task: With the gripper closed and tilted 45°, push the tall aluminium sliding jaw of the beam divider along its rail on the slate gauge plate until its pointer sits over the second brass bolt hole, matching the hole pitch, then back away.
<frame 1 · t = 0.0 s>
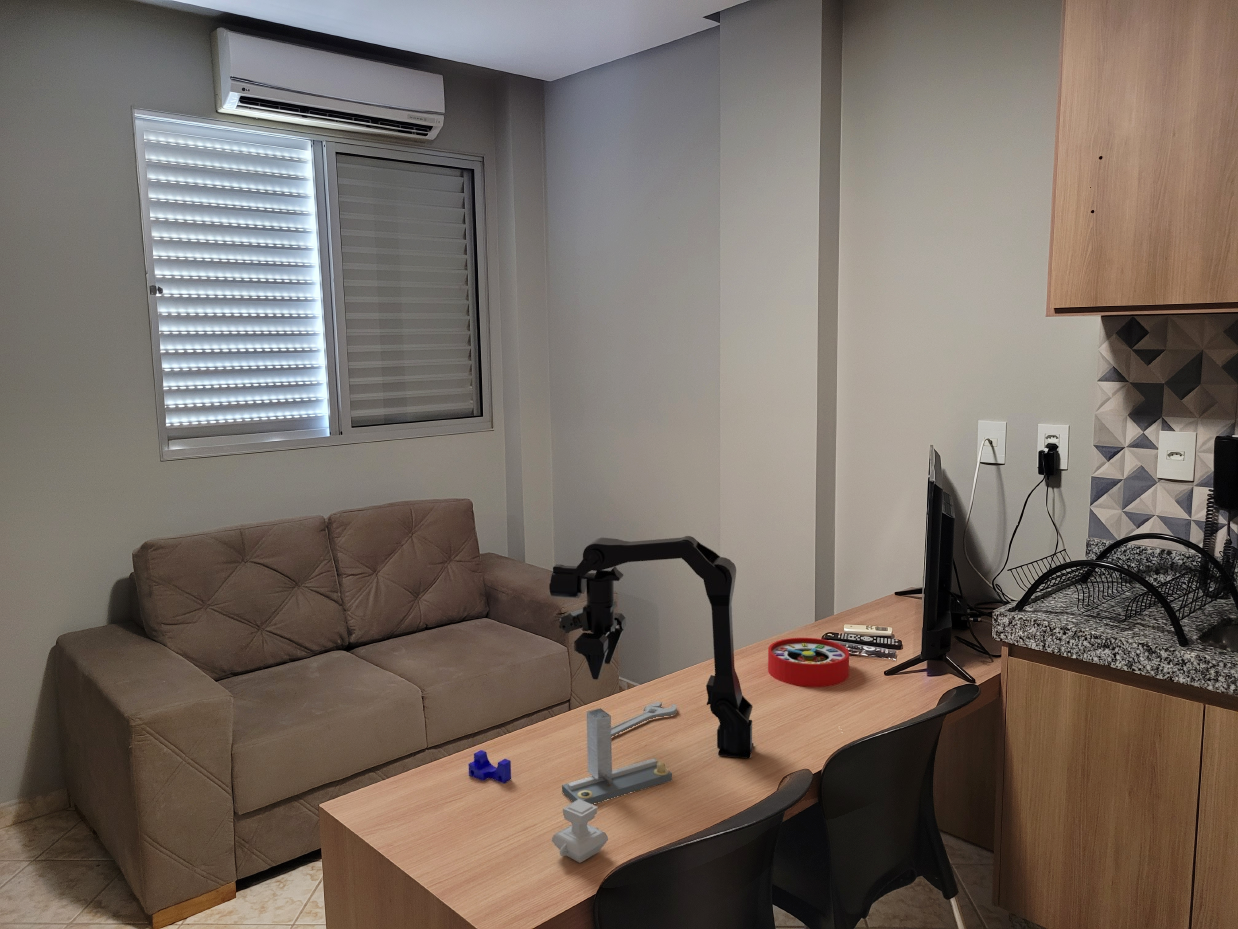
hand: (601, 671, 188), 15 cm above the table, tool pointing down, fingers open, 9 cm apart
gauge plate: (617, 786, 169), on the table
cable holder: (489, 779, 174), on the table
toy clock: (808, 673, 226), on the table
sliding jaw: (602, 748, 167), point 8 cm above the table, slide at 0.0 cm
adjustable wrench: (631, 726, 197), on the table
stamp: (580, 855, 147), on the table
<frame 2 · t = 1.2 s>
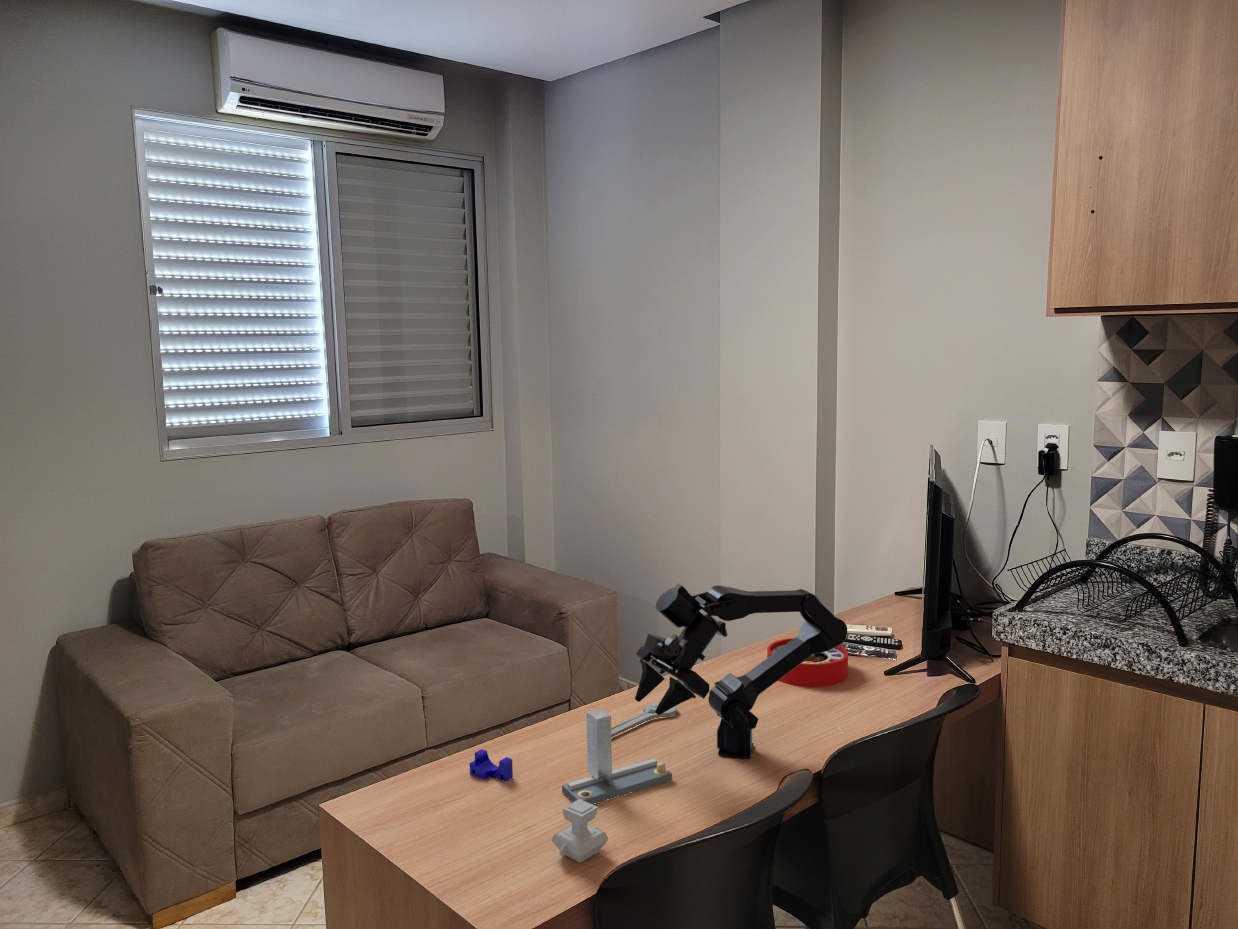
hand: (646, 707, 172), 13 cm above the table, tool tilted 45°, fingers open, 7 cm apart
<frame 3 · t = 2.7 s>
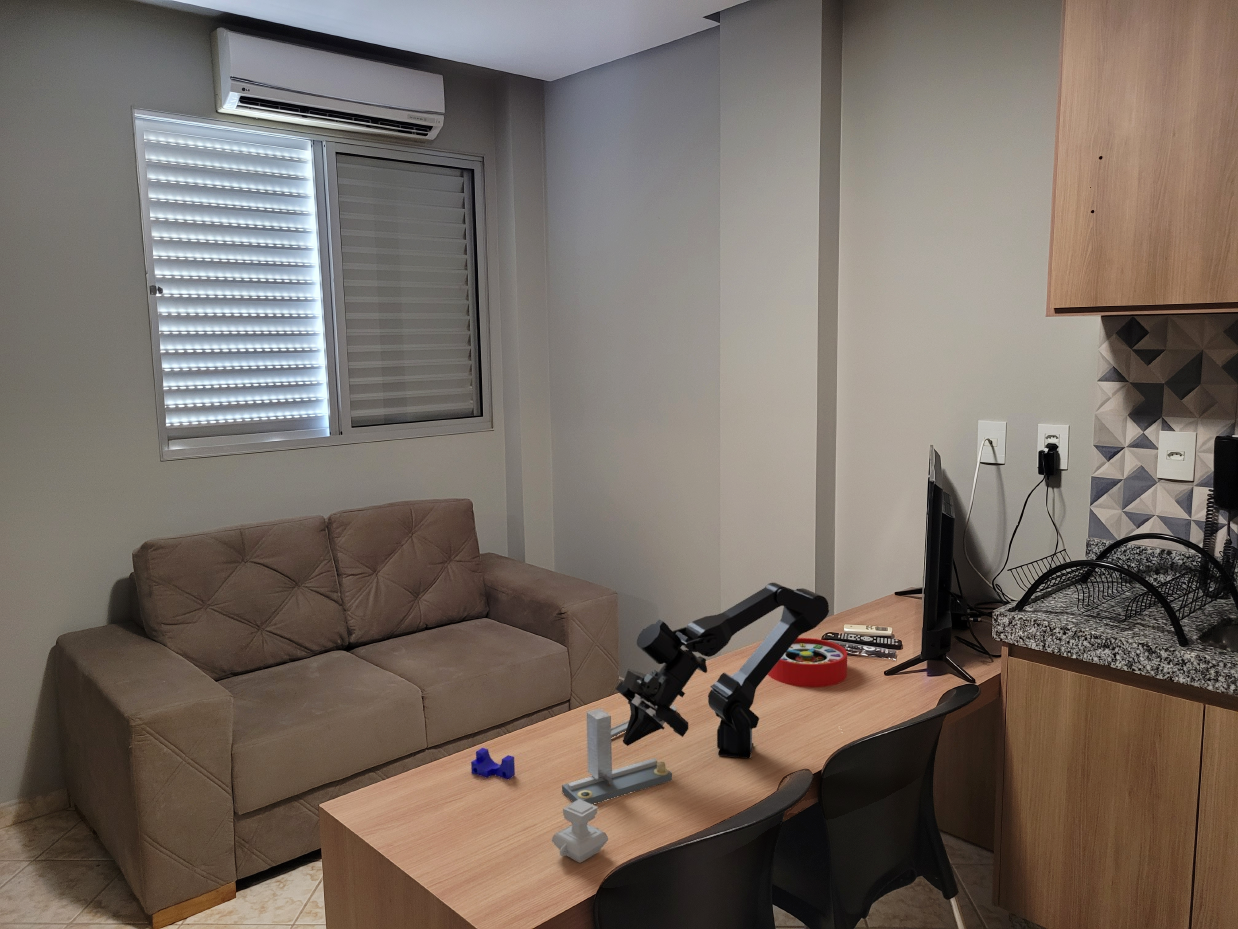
hand: (624, 744, 171), 7 cm above the table, tool tilted 45°, fingers closed
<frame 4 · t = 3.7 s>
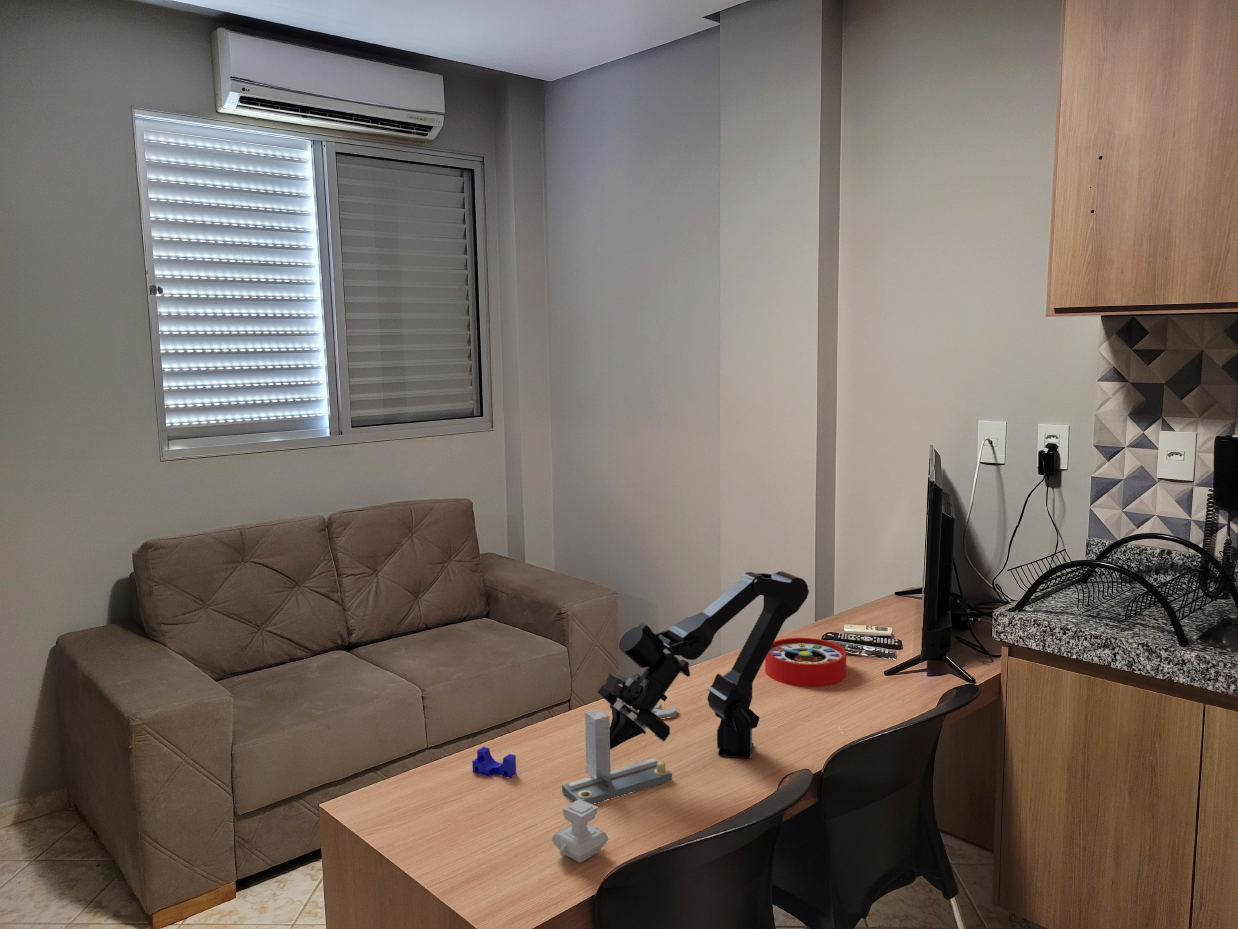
hand: (606, 748, 169), 7 cm above the table, tool tilted 45°, fingers closed, pressing on sliding jaw
sliding jaw: (600, 748, 167), point 8 cm above the table, slide at 0.3 cm, touching gripper
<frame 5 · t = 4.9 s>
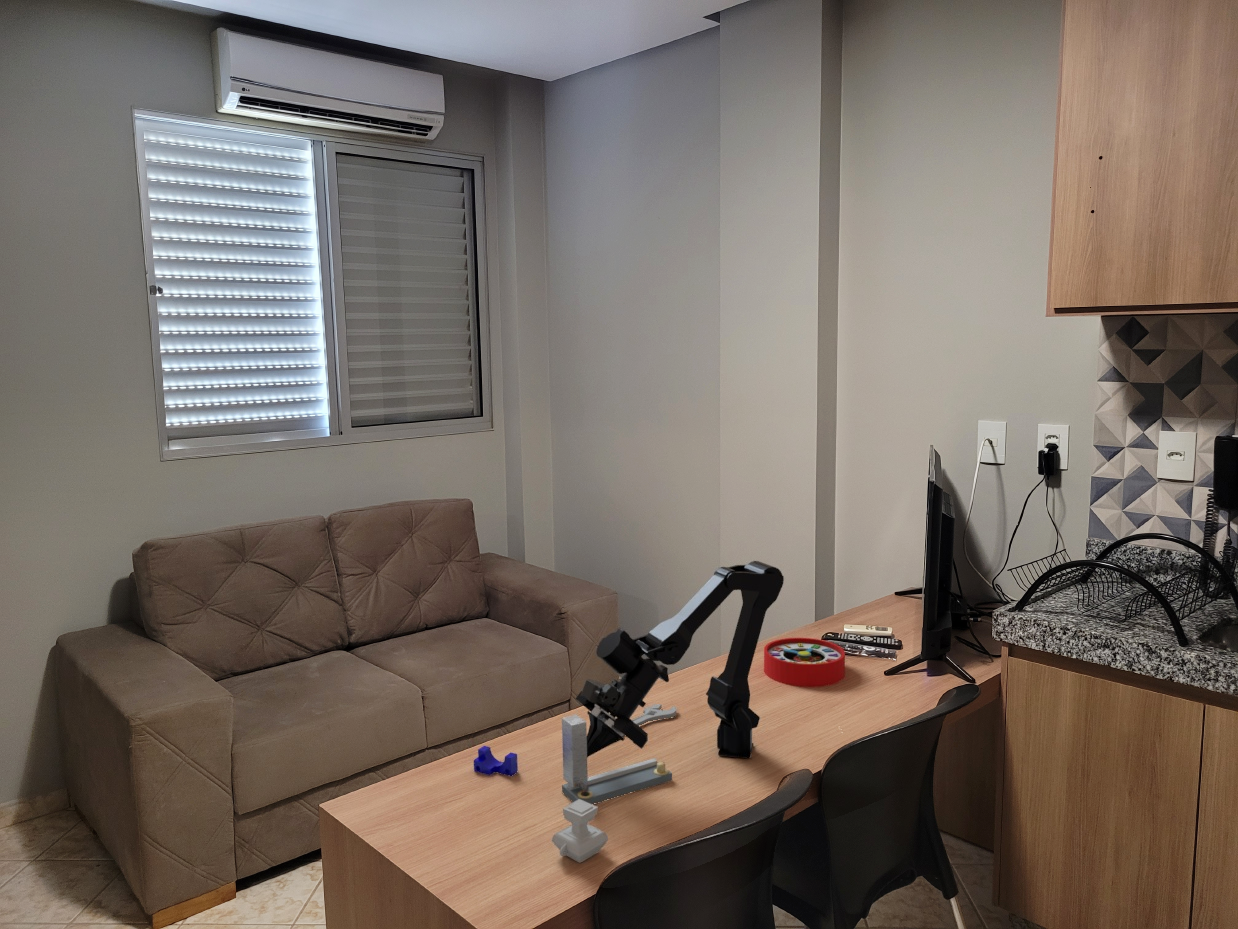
hand: (583, 755, 166), 7 cm above the table, tool tilted 45°, fingers closed, pressing on sliding jaw
sliding jaw: (577, 754, 164), point 8 cm above the table, slide at 5.2 cm, touching gripper
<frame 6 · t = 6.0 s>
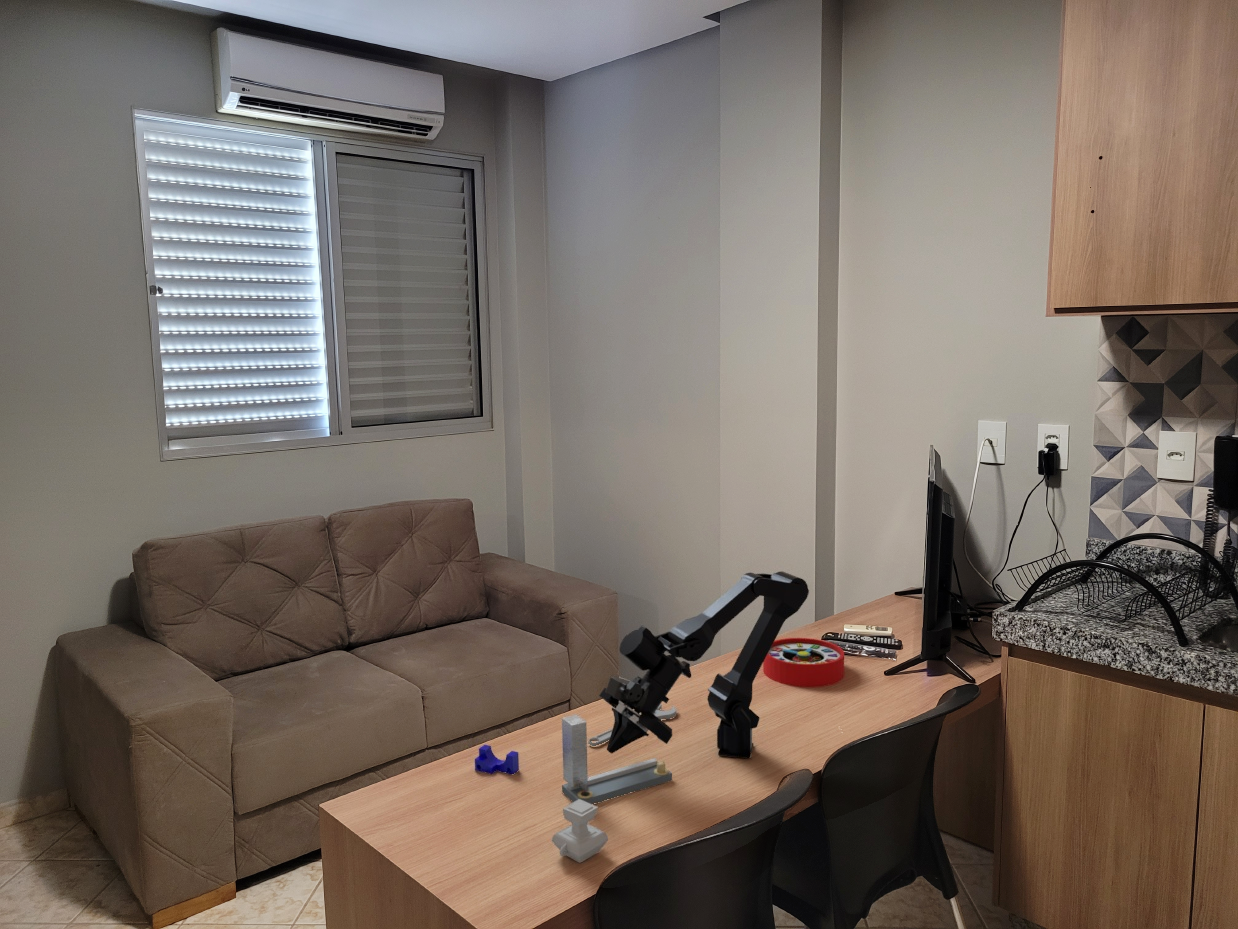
hand: (608, 751, 169), 7 cm above the table, tool tilted 45°, fingers closed
sliding jaw: (577, 754, 164), point 8 cm above the table, slide at 5.2 cm
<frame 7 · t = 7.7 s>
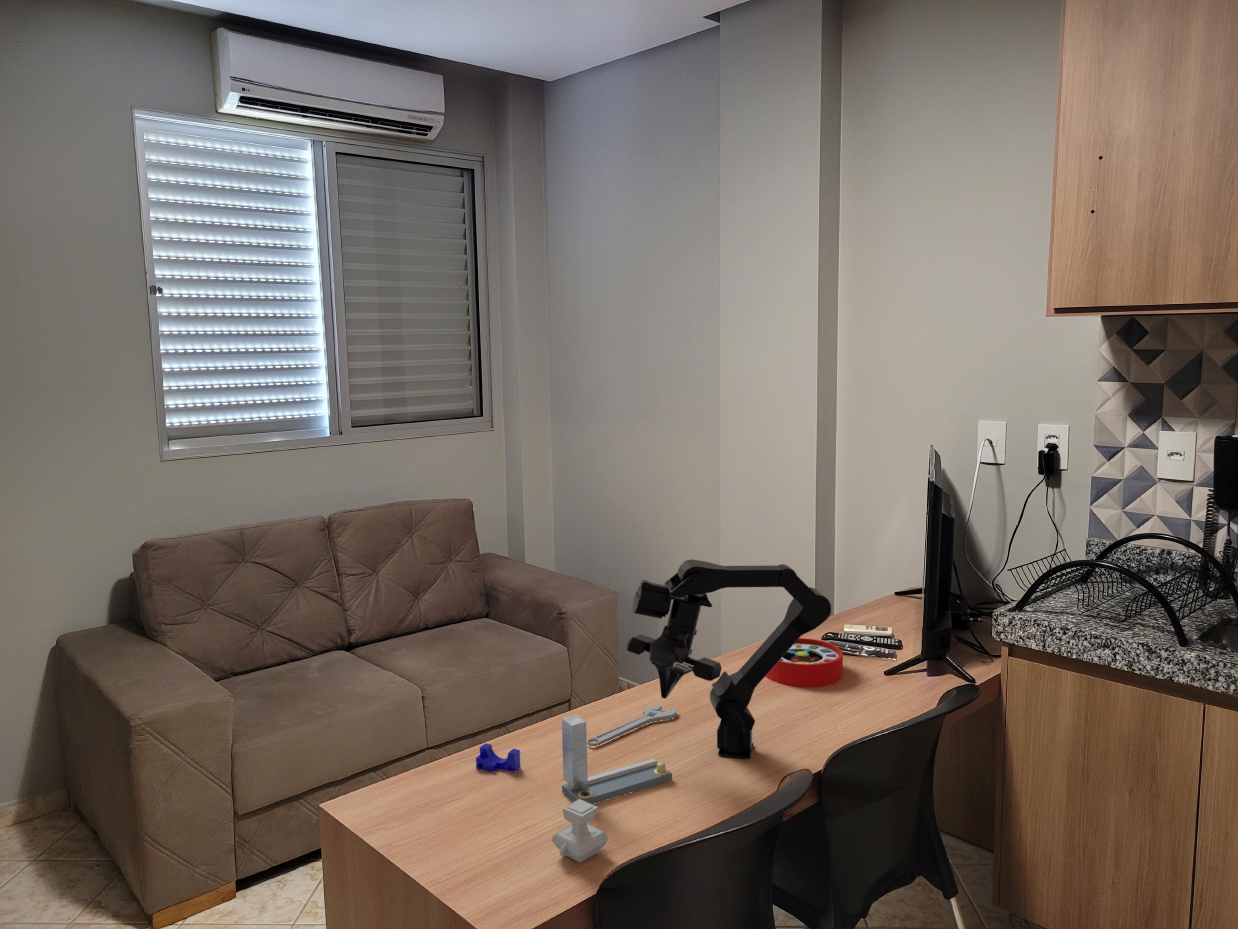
hand: (664, 698, 179), 12 cm above the table, tool pointing down, fingers closed
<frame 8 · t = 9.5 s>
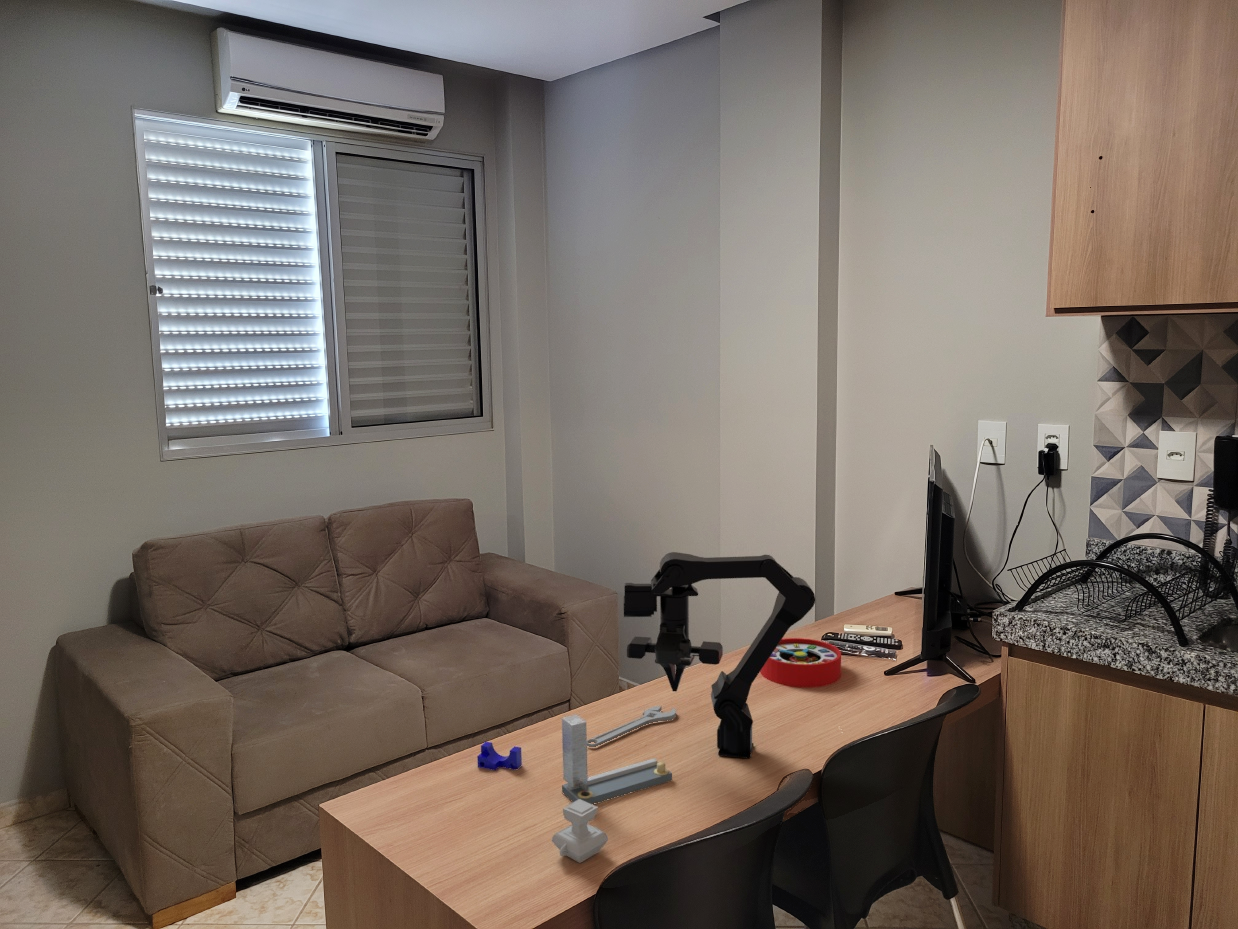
hand: (675, 690, 181), 13 cm above the table, tool pointing down, fingers closed
at the end: sliding jaw slide at 5.2 cm; stamp moved 0.3 cm from its start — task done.
